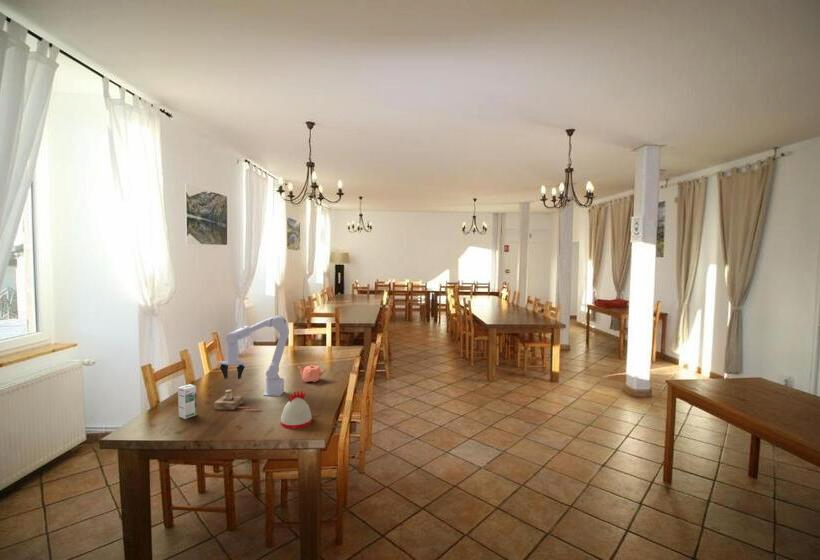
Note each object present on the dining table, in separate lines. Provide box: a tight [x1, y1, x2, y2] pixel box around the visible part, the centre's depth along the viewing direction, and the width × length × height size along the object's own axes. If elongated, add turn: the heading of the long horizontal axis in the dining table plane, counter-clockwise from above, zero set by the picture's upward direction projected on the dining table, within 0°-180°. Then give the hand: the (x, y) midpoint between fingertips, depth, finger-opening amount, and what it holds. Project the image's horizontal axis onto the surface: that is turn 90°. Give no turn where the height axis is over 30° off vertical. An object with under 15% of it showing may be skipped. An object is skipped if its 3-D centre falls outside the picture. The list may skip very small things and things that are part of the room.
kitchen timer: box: [280, 389, 313, 430], centre depth 181 cm, size 14×14×15 cm
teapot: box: [297, 364, 327, 383], centre depth 243 cm, size 14×12×10 cm
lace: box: [235, 406, 263, 412], centre depth 196 cm, size 15×4×1 cm, turn 88°
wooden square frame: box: [213, 395, 244, 411], centre depth 200 cm, size 10×10×4 cm
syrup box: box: [177, 383, 198, 420], centre depth 186 cm, size 6×6×14 cm
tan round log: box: [225, 389, 233, 401], centre depth 200 cm, size 3×3×8 cm
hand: (232, 378), depth 214 cm, fingers open, 7 cm apart
